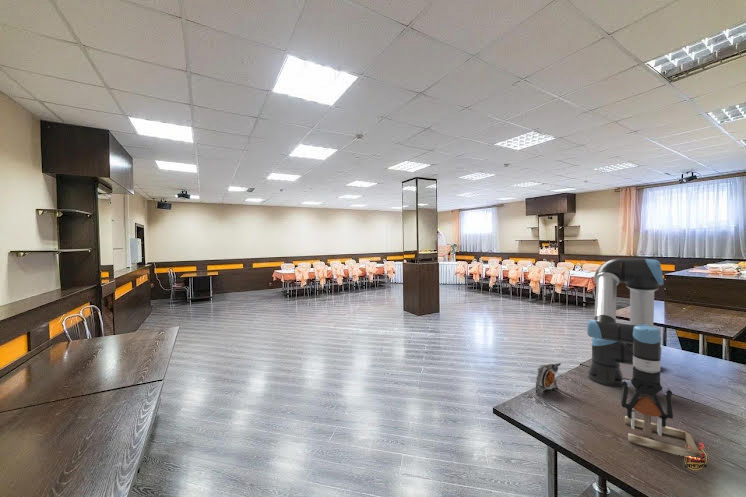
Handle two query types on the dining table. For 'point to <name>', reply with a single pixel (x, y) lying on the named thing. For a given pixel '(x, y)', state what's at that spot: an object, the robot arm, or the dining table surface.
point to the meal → (546, 377)
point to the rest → (660, 445)
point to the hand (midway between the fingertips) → (645, 430)
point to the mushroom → (647, 413)
